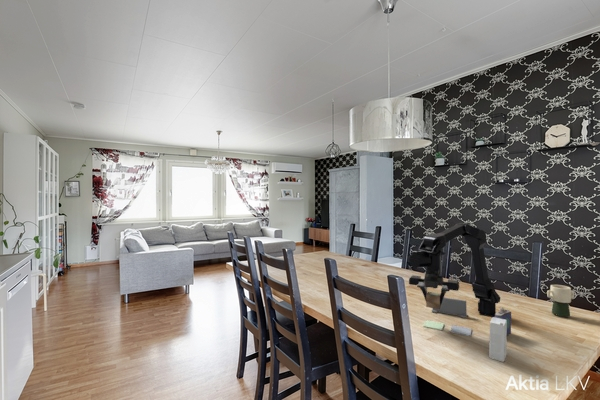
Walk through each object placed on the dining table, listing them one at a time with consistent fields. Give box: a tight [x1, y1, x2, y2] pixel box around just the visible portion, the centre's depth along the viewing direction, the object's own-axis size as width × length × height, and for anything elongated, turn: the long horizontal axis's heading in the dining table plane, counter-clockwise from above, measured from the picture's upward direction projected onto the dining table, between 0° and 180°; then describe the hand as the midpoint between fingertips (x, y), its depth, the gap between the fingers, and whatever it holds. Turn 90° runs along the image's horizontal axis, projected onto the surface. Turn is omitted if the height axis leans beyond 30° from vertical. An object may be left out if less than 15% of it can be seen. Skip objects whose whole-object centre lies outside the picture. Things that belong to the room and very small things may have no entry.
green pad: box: [423, 319, 445, 331], centre depth 125 cm, size 7×7×1 cm
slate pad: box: [450, 324, 472, 337], centre depth 119 cm, size 7×7×1 cm
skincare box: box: [488, 316, 508, 363], centre depth 100 cm, size 6×4×12 cm
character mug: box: [546, 284, 575, 318], centre depth 135 cm, size 11×7×13 cm, turn 83°
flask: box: [495, 306, 512, 337], centre depth 115 cm, size 9×3×11 cm, turn 121°
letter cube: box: [425, 291, 441, 309], centre depth 125 cm, size 5×5×5 cm
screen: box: [431, 296, 468, 319], centre depth 138 cm, size 14×5×7 cm, turn 58°
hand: (433, 303), depth 125 cm, fingers closed on letter cube, 5 cm apart
